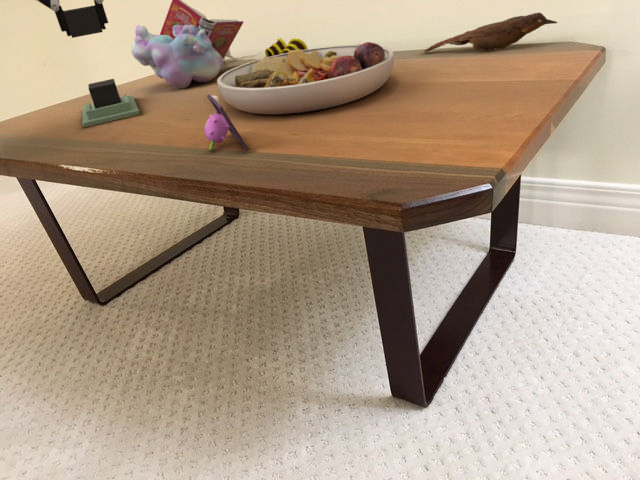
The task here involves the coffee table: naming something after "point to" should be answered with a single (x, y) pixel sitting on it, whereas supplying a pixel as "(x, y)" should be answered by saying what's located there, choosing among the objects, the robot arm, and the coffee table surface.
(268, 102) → the bowl
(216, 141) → the purple panel with bulb
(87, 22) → the gripped black block
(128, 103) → the dock
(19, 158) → the coffee table surface
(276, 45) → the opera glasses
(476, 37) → the bird sculpture
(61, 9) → the robot arm
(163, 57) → the marbled pastel blob
